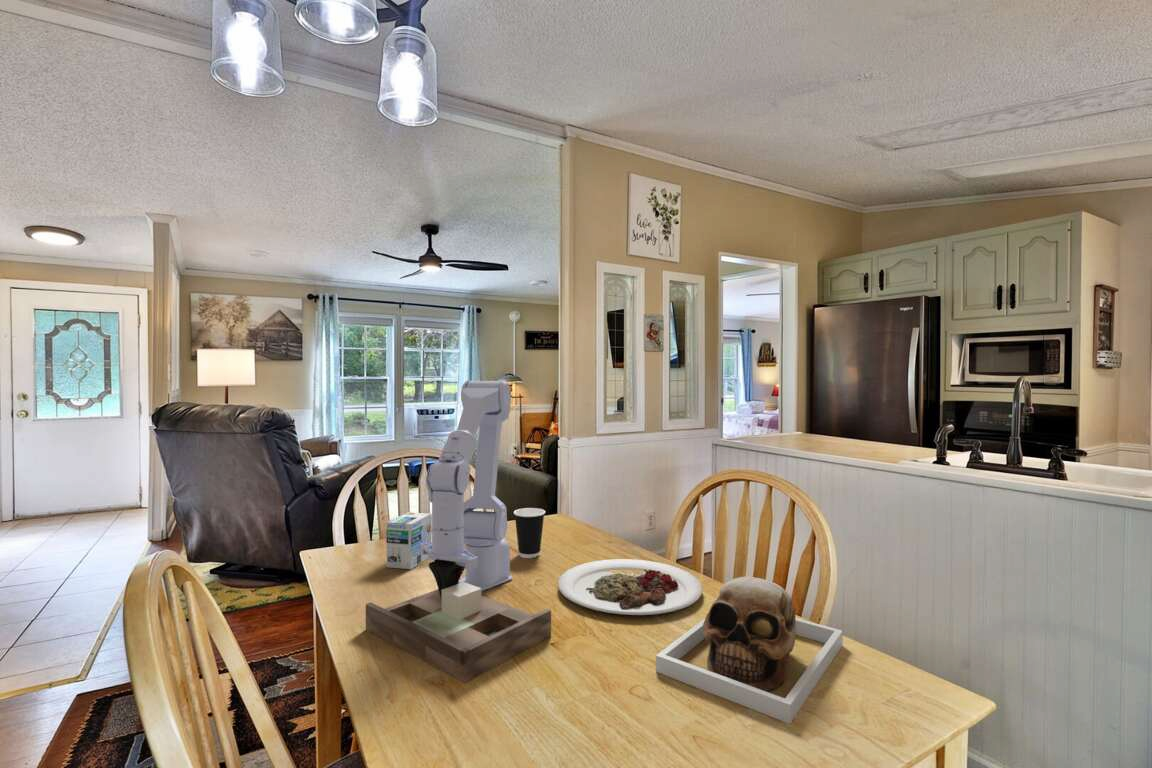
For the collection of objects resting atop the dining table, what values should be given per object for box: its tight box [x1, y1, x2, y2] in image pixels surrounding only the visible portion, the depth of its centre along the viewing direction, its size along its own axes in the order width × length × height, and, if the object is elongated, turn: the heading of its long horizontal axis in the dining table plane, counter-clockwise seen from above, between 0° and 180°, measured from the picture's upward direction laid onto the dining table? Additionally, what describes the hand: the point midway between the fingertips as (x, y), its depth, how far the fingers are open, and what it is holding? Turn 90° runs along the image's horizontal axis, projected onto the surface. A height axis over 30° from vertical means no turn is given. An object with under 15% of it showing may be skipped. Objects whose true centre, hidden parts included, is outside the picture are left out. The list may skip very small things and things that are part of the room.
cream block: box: [442, 582, 482, 620], centre depth 99 cm, size 5×5×4 cm
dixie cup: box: [513, 507, 546, 559], centre depth 138 cm, size 8×8×11 cm
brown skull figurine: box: [703, 576, 797, 693], centre depth 87 cm, size 16×18×14 cm
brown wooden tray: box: [365, 588, 552, 684], centre depth 96 cm, size 19×27×4 cm
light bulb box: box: [385, 511, 432, 570], centre depth 133 cm, size 11×7×11 cm, turn 168°
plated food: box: [557, 558, 703, 616], centre depth 116 cm, size 30×30×3 cm
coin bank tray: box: [655, 617, 843, 725], centre depth 88 cm, size 27×20×2 cm
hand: (447, 599), depth 102 cm, fingers closed
